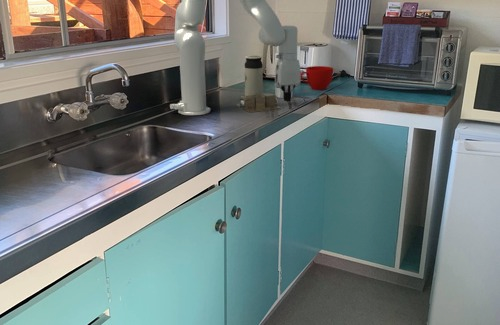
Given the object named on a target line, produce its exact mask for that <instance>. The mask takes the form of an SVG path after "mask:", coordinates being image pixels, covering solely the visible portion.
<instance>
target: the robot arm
mask: <svg viewBox="0 0 500 325" xmlns="http://www.w3.org/2000/svg"><path fill="white" fill-rule="evenodd" d="M206 2H207V0H182V1H181V2H180V3H179V4H178V5H177V8H176V11H175V17H174V18H175V20H174V21H175V22H174V34H173V35H174V45H175V47H176V49H178V50H177V51H179V71H180V72H179V74H180V91H181V100H179V102H177V103H170V104H169V108H170V110H174V109H175V110H178V114H180V115H184V116H201V115H206V114H209V113H210V112H211V108H210V107H208V106H207V96H206V92H207V91H206V73H205V72H206V69H205V67H206V65H205V64H206V63H205V60H206V59H205V58H206V57H205V56H206V42H205V38H204V37H203V35H202V34H201V33H200V32H199V28H200V26H201V25H202V23H204V21H205V18H206V5H207V4H206ZM239 3H240V4H241V5H242V7H243V9H244V11H246V13H247V14H249V15H250V16H251V17H252V18H254V20H255V21H256V22H257V23H258V24H259V26H260V27H261V29H259V31H258V35H257V36H258V39H259V41H260V42H261V43H262V44H264V45H267V46H271V47H277V48H278V47H279V53H278V55H276V58H278V59H279V60H278V61H277V65H276V73H275V72H274V83H275V82H276V88H280V89H282V91H283V98H282V99H283V101H284V102H287V103H288V102H291V101H292V97H291V92H292V93H293V91H294V89H295V88H297V87H299V86H300V84H301V81H302V80H301V73H302V72H301V64H300V60H299V59H298V26H295V25H282V24H281V21H280V19H279V18H278V16H277V14H276V13H275V11H274V10H273V9H272V7H271V5H270V4H269V3H268V1H267V0H239ZM281 85H282V86H281ZM287 85H288V87H287Z"/></svg>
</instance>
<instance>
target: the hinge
mask: <svg viewBox="0 0 500 325" xmlns="http://www.w3.org/2000/svg"><path fill="white" fill-rule="evenodd" d="M241 100H244V106H241V104H240V103H239V104H236V105H235V106H236V108H239V109H241V110H242V111H245V112H247V113H250V114H251V113H256V112H257V113H258V112H264V111H274V110H280V109H281V107H280V106H278V105H277V103H276V95H275V93H271V92H270V93H269V92H268V93H263V94H257V95H251V96H250V95H248V96H245V95H241V96H239V102H240V101H241Z"/></svg>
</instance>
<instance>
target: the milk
mask: <svg viewBox="0 0 500 325" xmlns="http://www.w3.org/2000/svg"><path fill="white" fill-rule="evenodd" d="M278 53H279V46H277V51H276V53H275V54H274V60H275V61H274V71H275V72H274V74H275V73H276V65H277V61H278V60H279V59H278V58H276V55H278ZM281 86H282V85H281ZM287 87H288V85H287ZM274 95H276V96H277V98H278V99H283V91H282V89H280V88H276V82H275V81H274ZM291 98H293V91H292V92H291Z"/></svg>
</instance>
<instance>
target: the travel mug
mask: <svg viewBox="0 0 500 325" xmlns="http://www.w3.org/2000/svg"><path fill="white" fill-rule="evenodd" d="M244 58H245V63H244V96H248V95H250V96H251V95H257V94H264V91H263V90H264V89H263V86H264V85H263V80H264V79H263V76H264V75H263V74H264V73H263V72H264V70H263V67H264V66H263V61H262V58H263V56H262V55H256V54H255V55H254V54H251V55H246V56H245V57H244Z"/></svg>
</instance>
